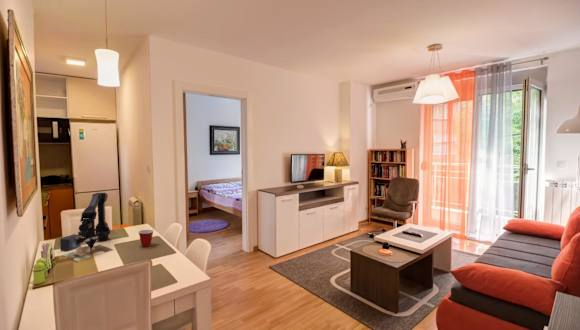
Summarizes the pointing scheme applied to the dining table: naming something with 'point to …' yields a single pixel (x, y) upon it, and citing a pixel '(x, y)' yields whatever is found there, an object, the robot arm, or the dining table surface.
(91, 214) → the robot arm
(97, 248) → the trap deck
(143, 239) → the plastic cup
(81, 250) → the maple block
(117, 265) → the dining table surface
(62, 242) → the small box
